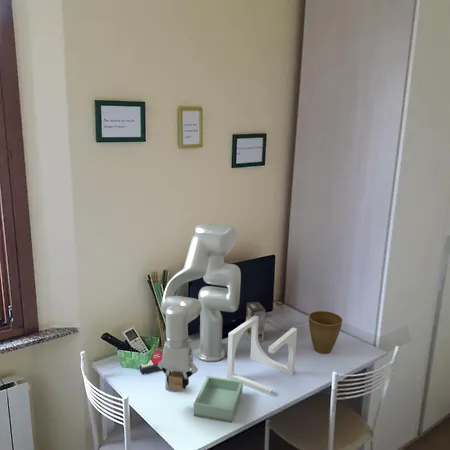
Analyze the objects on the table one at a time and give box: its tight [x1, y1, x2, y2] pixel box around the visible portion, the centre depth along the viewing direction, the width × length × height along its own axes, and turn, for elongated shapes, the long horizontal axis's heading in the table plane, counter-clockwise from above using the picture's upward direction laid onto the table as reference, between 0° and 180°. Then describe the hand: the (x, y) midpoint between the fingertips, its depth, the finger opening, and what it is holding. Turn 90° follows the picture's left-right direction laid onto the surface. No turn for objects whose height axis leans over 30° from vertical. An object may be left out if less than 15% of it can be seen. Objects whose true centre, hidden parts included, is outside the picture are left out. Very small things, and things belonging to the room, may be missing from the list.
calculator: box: [139, 347, 163, 375], centre depth 199 cm, size 11×4×15 cm
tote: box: [193, 375, 244, 424], centre depth 172 cm, size 18×14×5 cm
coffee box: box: [244, 301, 267, 342], centre depth 221 cm, size 9×6×16 cm
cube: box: [168, 370, 184, 392], centre depth 167 cm, size 5×5×5 cm
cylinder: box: [164, 370, 177, 393], centre depth 181 cm, size 5×5×7 cm
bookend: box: [226, 316, 298, 397], centre depth 190 cm, size 20×20×20 cm
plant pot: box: [308, 310, 344, 355], centre depth 211 cm, size 15×15×16 cm
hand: (177, 384), depth 168 cm, fingers closed on cube, 4 cm apart
